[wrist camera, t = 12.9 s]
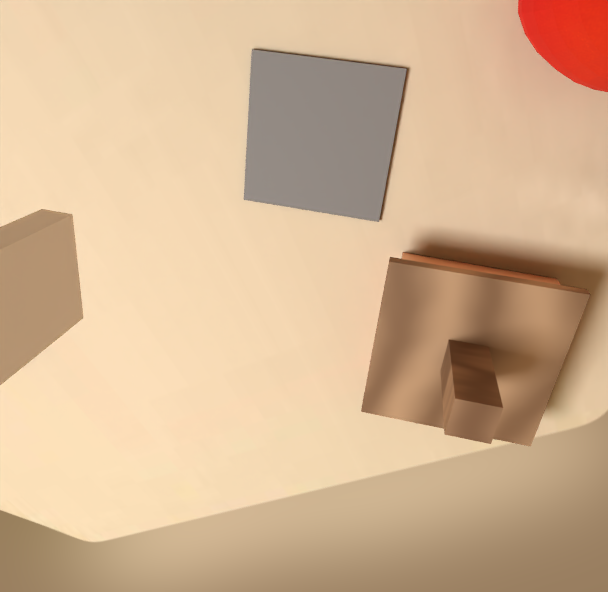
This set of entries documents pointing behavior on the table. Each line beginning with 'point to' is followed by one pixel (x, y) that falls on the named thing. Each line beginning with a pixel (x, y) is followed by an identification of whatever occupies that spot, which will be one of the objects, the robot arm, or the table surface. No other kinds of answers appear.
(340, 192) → the mat
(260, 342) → the table surface
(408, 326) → the lid
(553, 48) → the tomato
